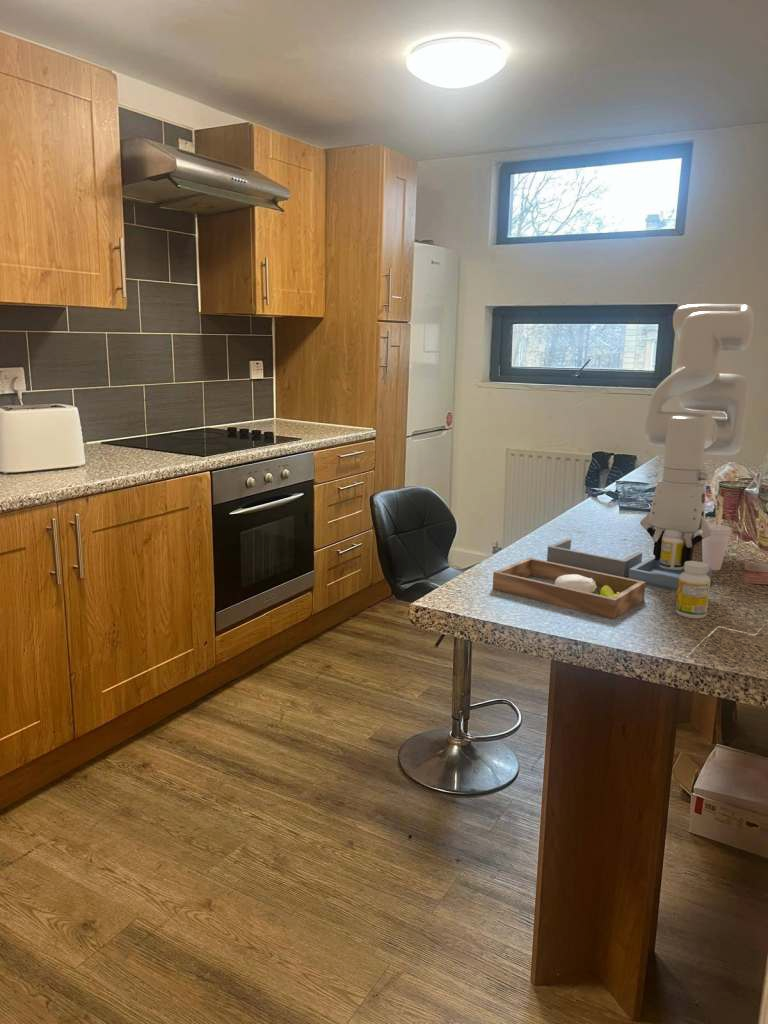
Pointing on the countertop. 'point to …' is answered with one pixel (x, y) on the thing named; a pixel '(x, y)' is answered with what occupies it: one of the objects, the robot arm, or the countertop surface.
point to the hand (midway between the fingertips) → (671, 560)
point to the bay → (591, 560)
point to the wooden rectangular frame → (517, 584)
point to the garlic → (576, 582)
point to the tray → (657, 574)
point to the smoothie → (715, 544)
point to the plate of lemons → (607, 592)
